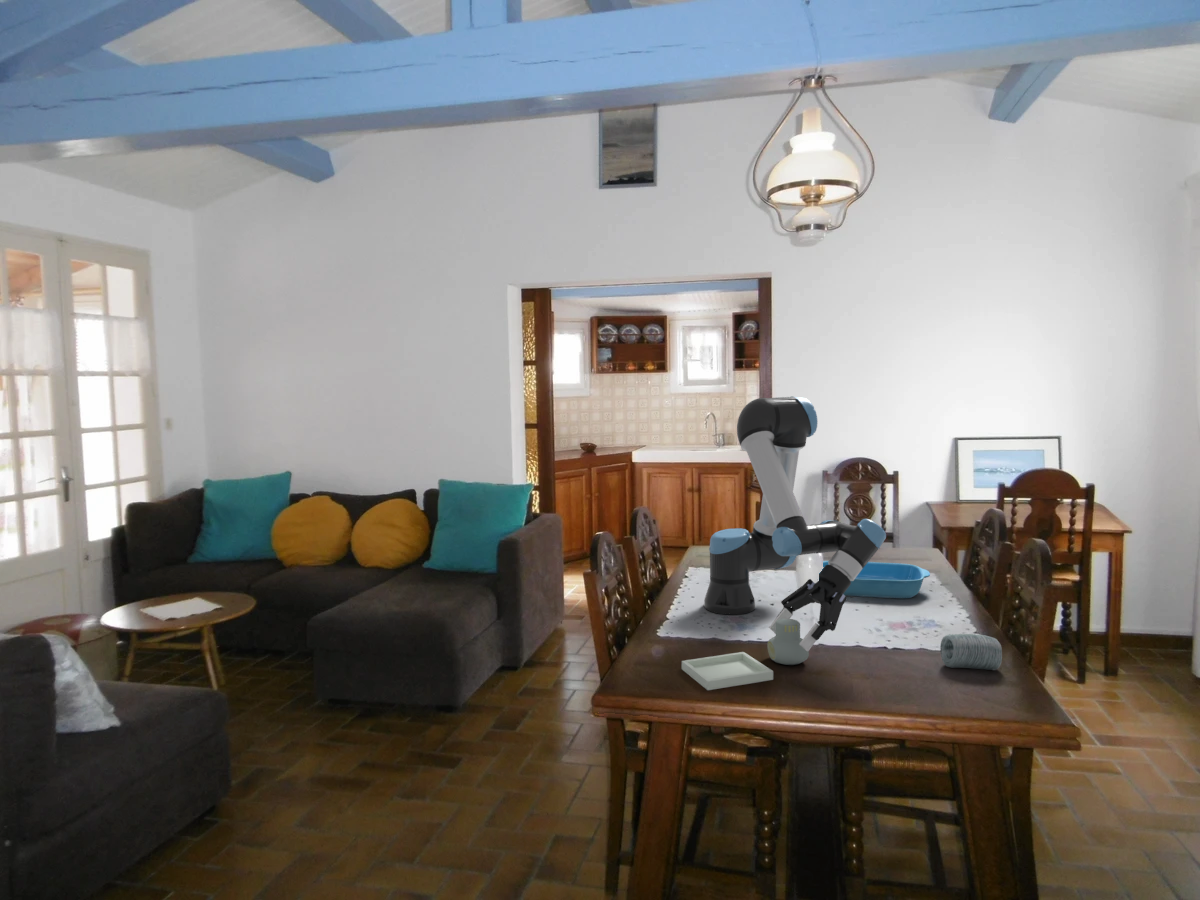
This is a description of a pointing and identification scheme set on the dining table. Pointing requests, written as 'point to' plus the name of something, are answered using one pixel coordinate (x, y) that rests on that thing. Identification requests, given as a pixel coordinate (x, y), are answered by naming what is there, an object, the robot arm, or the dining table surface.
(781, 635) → the air freshener
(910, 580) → the casserole dish
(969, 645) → the spool
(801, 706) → the dining table surface
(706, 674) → the sage tray
